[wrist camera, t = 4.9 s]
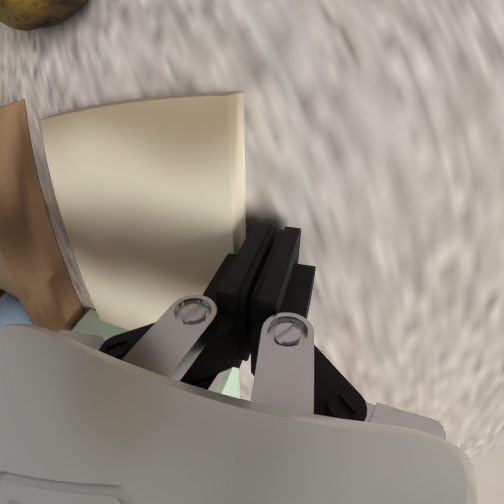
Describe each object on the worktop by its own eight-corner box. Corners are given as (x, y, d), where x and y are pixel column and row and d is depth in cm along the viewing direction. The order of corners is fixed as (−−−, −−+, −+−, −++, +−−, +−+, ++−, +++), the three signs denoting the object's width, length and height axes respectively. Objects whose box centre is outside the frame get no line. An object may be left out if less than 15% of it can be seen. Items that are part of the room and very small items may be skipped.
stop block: (-16, 115, 13) (-61, 137, 9) (24, 99, 11) (-35, 122, 8) (42, 299, 22) (14, 329, 18) (87, 319, 20) (57, 356, 17)
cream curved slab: (70, 109, 12) (39, 120, 10) (247, 90, 9) (227, 95, 8) (117, 299, 18) (100, 319, 17) (250, 333, 16) (239, 362, 15)
